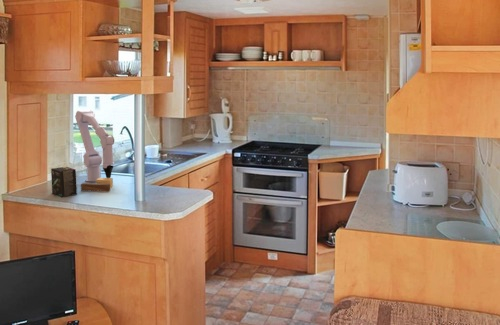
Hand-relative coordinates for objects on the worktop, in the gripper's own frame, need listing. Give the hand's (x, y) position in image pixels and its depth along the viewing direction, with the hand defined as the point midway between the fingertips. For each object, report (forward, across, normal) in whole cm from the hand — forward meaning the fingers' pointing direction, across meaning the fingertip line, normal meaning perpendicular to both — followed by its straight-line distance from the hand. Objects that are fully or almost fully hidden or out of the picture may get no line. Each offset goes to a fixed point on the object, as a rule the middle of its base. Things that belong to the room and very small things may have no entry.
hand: (108, 177), depth 306 cm
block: (+4, -8, 0) cm, 9 cm away
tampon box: (+4, -28, +16) cm, 33 cm away
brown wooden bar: (+4, -18, +2) cm, 18 cm away
